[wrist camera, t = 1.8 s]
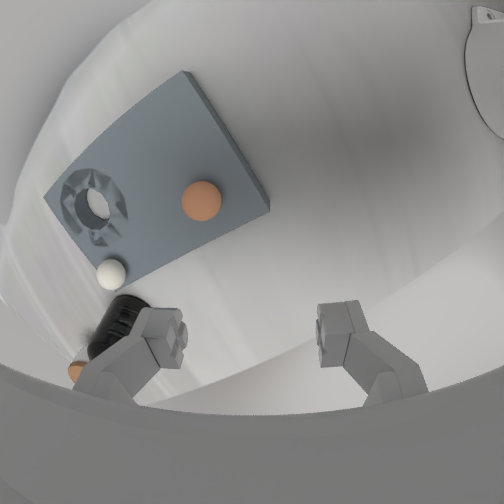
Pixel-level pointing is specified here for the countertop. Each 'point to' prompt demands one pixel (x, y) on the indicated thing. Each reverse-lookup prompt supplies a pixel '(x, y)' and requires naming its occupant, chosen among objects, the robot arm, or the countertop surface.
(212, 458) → the robot arm
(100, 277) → the cream ball
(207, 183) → the terracotta ball
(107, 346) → the supplement bottle
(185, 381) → the countertop surface
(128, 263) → the plate
